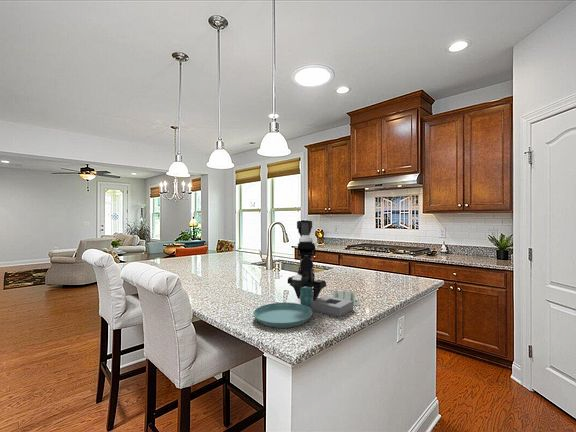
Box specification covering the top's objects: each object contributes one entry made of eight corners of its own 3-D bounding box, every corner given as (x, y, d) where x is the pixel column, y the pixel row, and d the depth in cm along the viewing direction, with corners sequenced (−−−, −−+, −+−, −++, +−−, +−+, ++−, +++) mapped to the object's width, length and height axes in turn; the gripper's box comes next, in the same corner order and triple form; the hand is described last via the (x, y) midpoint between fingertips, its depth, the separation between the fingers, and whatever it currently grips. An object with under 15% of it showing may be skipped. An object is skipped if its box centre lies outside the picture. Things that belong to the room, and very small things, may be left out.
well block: (311, 310, 132) (311, 301, 132) (326, 304, 141) (325, 295, 141) (339, 317, 123) (339, 307, 123) (353, 309, 132) (353, 300, 132)
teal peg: (300, 305, 141) (300, 288, 141) (305, 302, 144) (305, 286, 144) (307, 306, 138) (307, 289, 138) (312, 304, 141) (312, 287, 141)
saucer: (241, 321, 121) (240, 313, 121) (280, 306, 140) (280, 299, 140) (286, 336, 106) (286, 326, 106) (324, 317, 124) (324, 309, 124)
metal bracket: (328, 286, 153) (358, 287, 150) (328, 296, 154) (358, 297, 151) (327, 302, 139) (360, 303, 136) (327, 313, 141) (360, 314, 138)
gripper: (279, 267, 140) (280, 300, 140) (313, 272, 129) (313, 308, 129) (294, 264, 149) (294, 295, 149) (326, 268, 137) (327, 302, 138)
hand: (306, 300), depth 141 cm, fingers open, 9 cm apart
